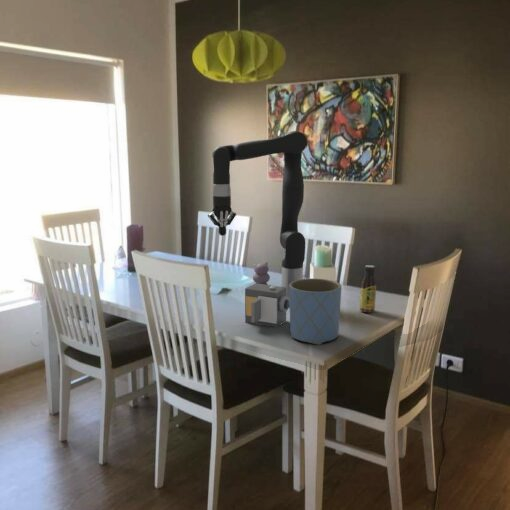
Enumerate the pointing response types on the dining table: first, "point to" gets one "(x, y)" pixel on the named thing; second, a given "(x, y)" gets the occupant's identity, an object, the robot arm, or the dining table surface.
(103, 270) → the dining table surface
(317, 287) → the planter
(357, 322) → the dining table surface
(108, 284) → the dining table surface
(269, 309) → the side door
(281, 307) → the camera housing
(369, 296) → the sauce bottle
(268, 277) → the cat figurine
